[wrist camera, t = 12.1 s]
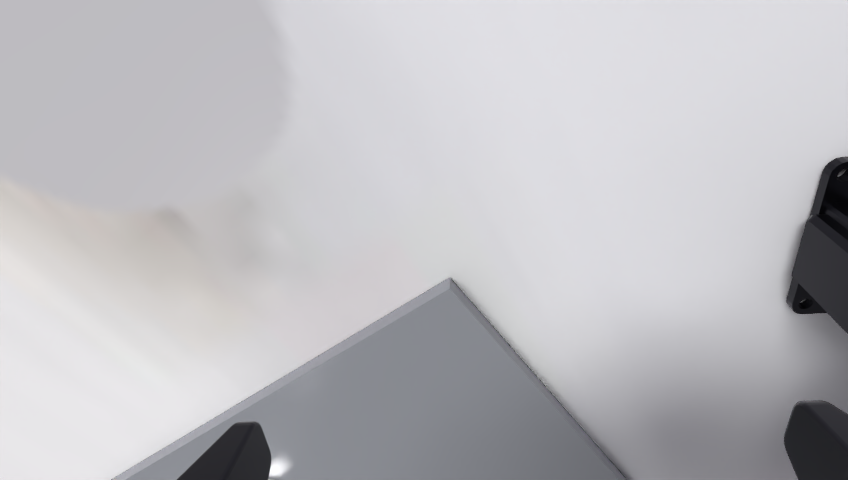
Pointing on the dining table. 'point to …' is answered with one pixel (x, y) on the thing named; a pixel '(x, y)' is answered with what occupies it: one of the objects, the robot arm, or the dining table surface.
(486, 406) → the base plate
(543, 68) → the dining table surface
